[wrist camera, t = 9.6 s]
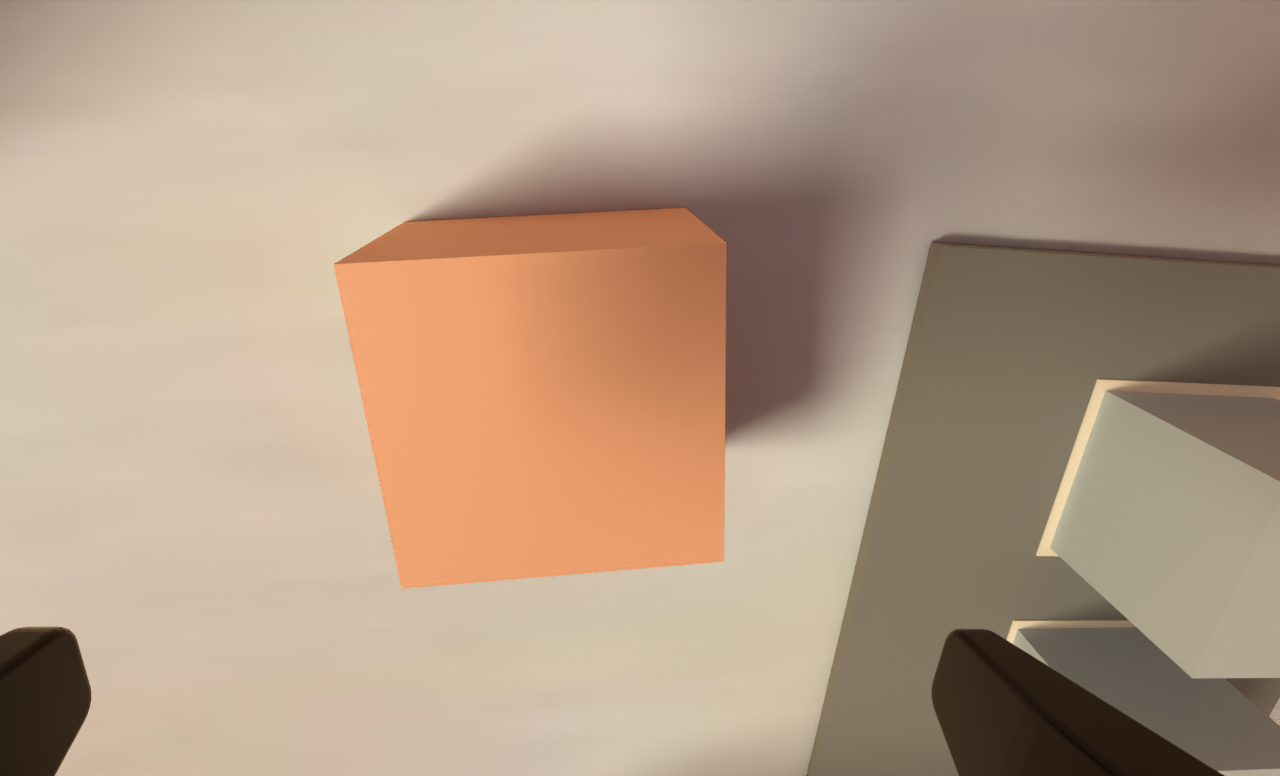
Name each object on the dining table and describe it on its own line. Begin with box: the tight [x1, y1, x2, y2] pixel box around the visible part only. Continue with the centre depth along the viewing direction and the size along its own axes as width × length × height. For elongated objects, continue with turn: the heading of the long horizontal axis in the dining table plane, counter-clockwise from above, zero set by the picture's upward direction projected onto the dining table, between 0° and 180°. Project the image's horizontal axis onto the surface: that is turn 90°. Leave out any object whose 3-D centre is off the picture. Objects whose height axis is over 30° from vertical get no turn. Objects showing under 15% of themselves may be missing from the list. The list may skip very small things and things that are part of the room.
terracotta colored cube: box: [334, 207, 727, 588], centre depth 15 cm, size 6×6×5 cm
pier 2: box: [1013, 627, 1280, 776], centre depth 20 cm, size 5×5×5 cm
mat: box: [807, 242, 1280, 776], centre depth 21 cm, size 20×16×1 cm
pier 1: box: [1050, 391, 1280, 678], centre depth 17 cm, size 5×5×5 cm
